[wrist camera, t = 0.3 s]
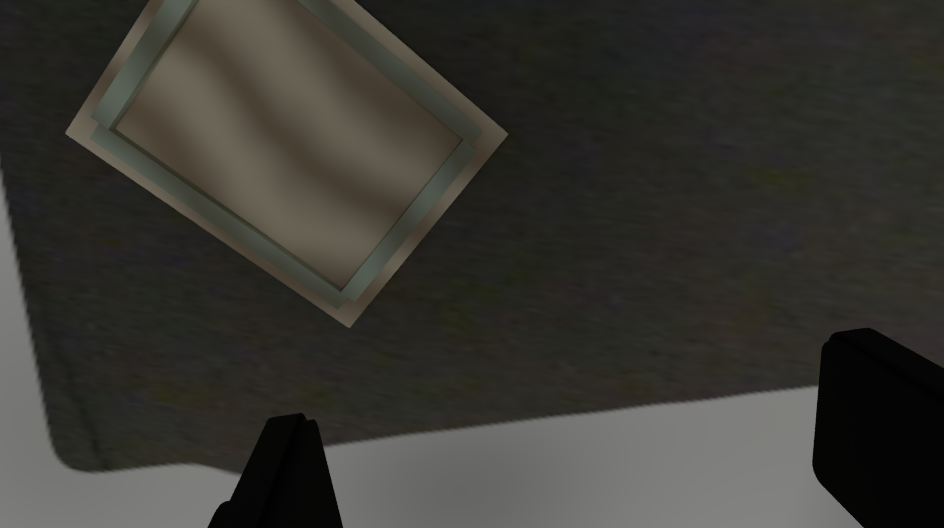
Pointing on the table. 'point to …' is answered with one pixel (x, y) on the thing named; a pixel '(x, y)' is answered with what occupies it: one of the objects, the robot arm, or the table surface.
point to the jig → (289, 136)
